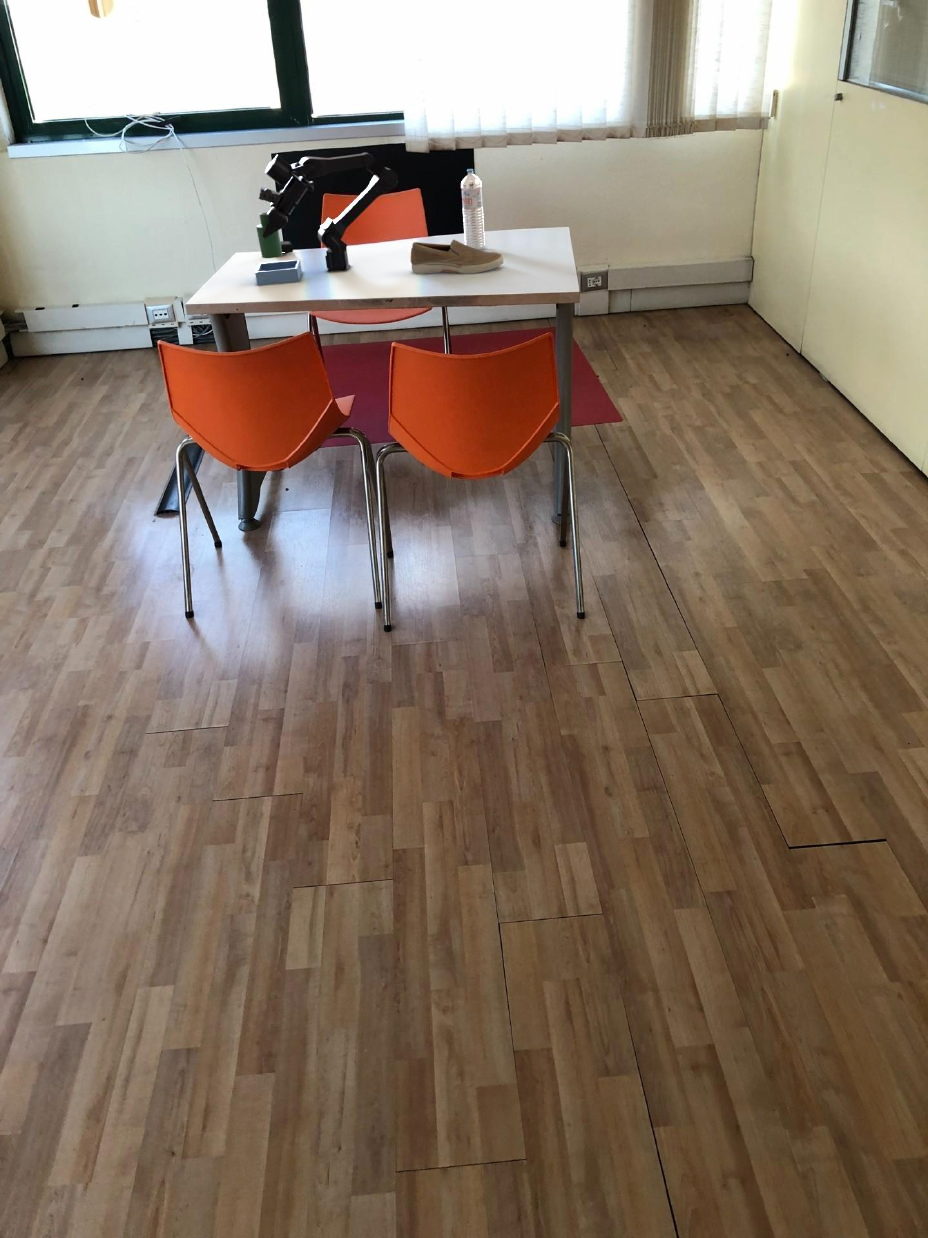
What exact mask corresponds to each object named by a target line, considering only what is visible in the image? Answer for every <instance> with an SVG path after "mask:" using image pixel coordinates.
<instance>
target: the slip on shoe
mask: <svg viewBox="0 0 928 1238" xmlns="http://www.w3.org/2000/svg"><path fill="white" fill-rule="evenodd" d="M411 245H412V246H411V248H410V263H411V271H412V273H414V274H419V275H424V274H425V275H426V274H434V273H452V274H463V275H464V274H468V275H469V274H476V273H482V272H486V271H489V270H493V269H496V268H498V267H500V266H502V265H503V264H504V263H505V262H504V255H503V254H502V253H500V252H495V251H486V250H483V249H482V250H479V249H476V248H472V247H469V246H467V245H465V243H462V242H460V241H458V240H456V239H452V241H450V244H442V243H428V242H418V241H414V242H412V244H411Z"/></svg>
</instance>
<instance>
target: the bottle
mask: <svg viewBox="0 0 928 1238" xmlns="http://www.w3.org/2000/svg"><path fill="white" fill-rule="evenodd" d="M268 212H269V211H267V212H266V211H265V212H260V213H259V214H258V215H259V220H260V224H257V225H256V226H255V229H256V233H257V238H258V243H259V248H260V254H261V258H262V259H275V258H279V257H282V256H283V255H282V248H281V243H280V242H281V238H280V232H279V230H278V231H276V232H275V233H273V234H271V235H270V236H268V237H266V238H264V237H262V235H263V233H264V231H265V228H266V226H267V224H268V217H267V214H268Z"/></svg>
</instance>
